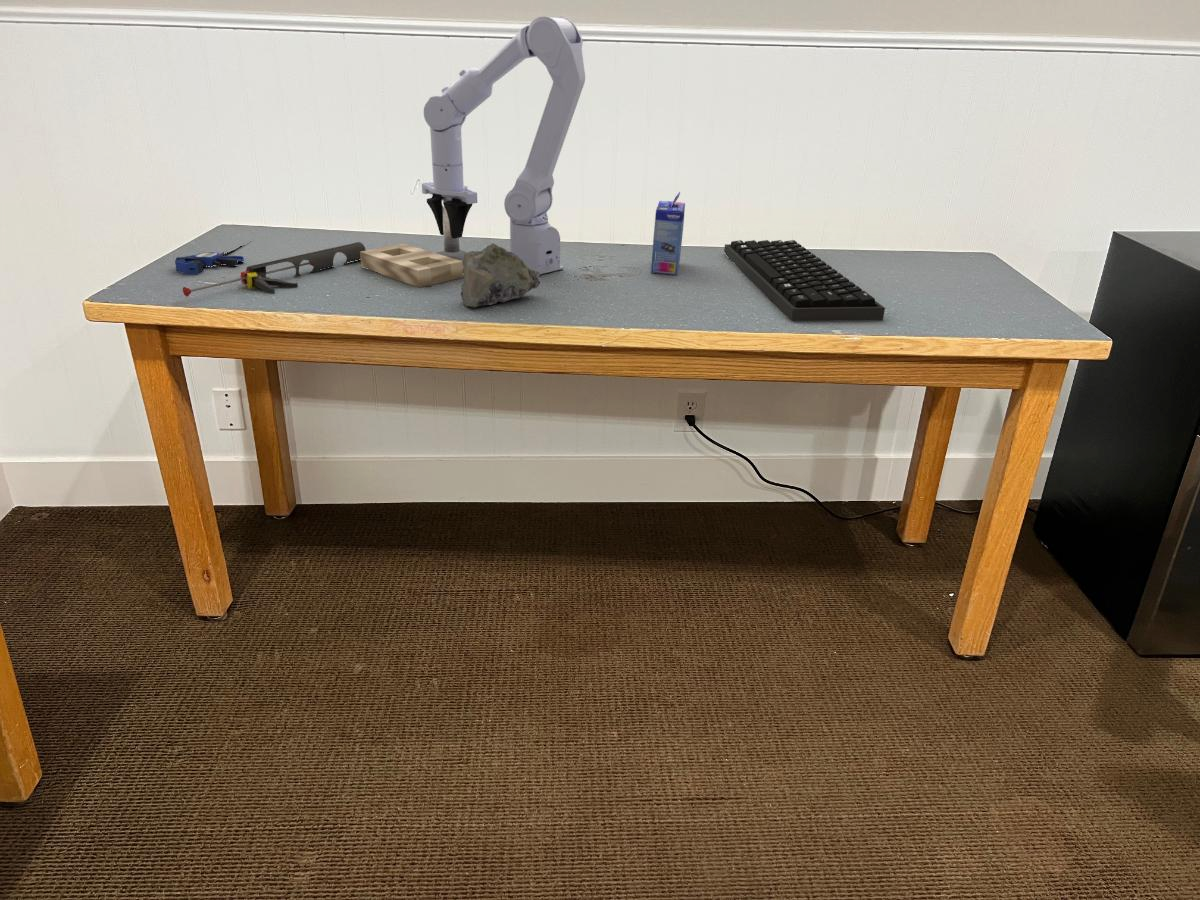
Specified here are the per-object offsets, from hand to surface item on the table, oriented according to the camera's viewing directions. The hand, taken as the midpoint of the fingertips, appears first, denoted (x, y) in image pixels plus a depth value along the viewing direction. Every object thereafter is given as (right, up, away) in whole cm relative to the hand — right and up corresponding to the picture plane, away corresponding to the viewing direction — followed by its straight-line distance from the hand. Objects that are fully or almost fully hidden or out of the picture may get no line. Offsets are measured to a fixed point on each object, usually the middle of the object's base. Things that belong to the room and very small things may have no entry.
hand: (451, 236), depth 170 cm
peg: (0, -3, +1) cm, 3 cm away
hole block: (-6, -9, -8) cm, 13 cm away
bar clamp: (-43, -4, +1) cm, 44 cm away
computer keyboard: (+66, -11, -6) cm, 67 cm away
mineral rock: (+12, -17, -23) cm, 31 cm away
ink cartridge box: (+42, -6, 0) cm, 43 cm away
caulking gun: (-27, -12, -15) cm, 33 cm away
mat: (0, -4, +2) cm, 5 cm away
